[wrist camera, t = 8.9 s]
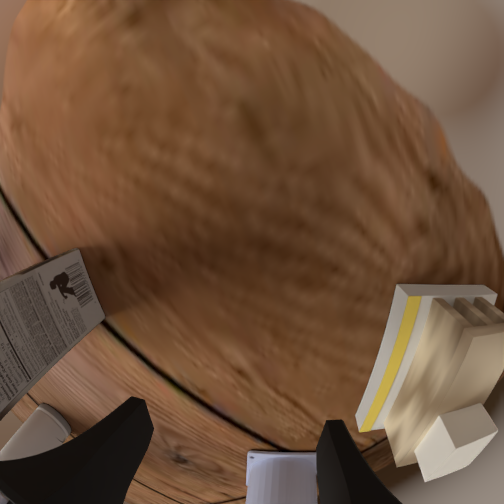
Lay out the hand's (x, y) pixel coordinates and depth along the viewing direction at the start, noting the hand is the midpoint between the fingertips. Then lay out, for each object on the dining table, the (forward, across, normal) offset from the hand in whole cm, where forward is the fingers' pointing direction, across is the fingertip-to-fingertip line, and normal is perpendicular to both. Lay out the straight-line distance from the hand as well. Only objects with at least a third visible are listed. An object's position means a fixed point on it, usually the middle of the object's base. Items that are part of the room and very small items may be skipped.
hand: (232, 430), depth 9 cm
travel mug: (+10, +29, +23) cm, 38 cm away
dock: (+9, -14, +4) cm, 17 cm away
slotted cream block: (+7, -14, +3) cm, 16 cm away
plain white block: (+2, -14, +5) cm, 15 cm away
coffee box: (+10, +17, 0) cm, 20 cm away
